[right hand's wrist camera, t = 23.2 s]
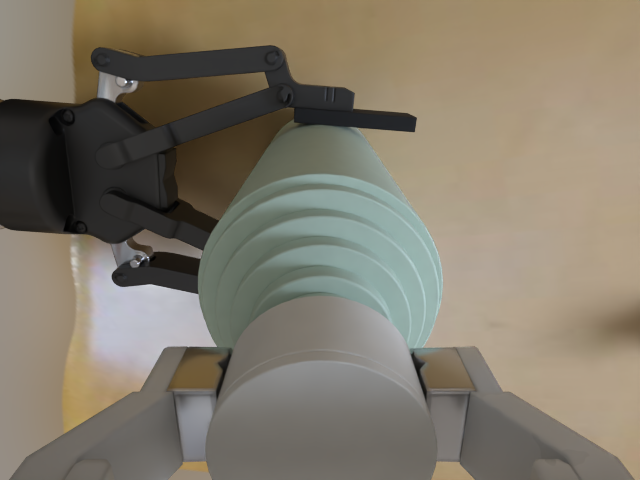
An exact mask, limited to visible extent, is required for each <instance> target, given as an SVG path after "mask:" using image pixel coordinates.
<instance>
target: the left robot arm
mask: <svg viewBox="0 0 640 480" xmlns="http://www.w3.org/2000/svg"><path fill="white" fill-rule="evenodd" d="M91 62H92V64H93V66H94V67H95V68H96V69H97V70H98V71H99V81H98V91H97V98H94V99H91V100H89V101H87V102H86V103H83V104H71V103H59V102H46V101H34V100H21V99H9V100H5V101H4V100H1V99H0V229H3V228H8V229H11V230H16V231H30V232H44V233H58V234H87V235H91V236H94V237H96V238H98V239H100V240H102V241H104V242H106V243H109V244H111V247H112V250H113V253H114V257H115V260H116V263H117V267H118V268H117V269H116V270H115V271H114V272H113V274H112V280H113V282H114V283H115V284H116V285H118V286H120V287H128V286H137V285H147V284H153V285H158V286H162V287H167V288H172V289H177V290H182V291H186V292H191V293H196V294H198V272H199V266H200V260H201V259H198V258H193V257H188V256H184V255H179V254H175V253H169V252H153V249H152V247H151V246H146V245H140V244H137V243H136V242H135V241H134V240H133V238H132V237H133V236H134V235H136V234H137V233H139V232H141V231H142V230H144V229H147V230H150V231H152V232H154V233H156V234H158V235H161V236H163V237H166V238H176V239H179V240H181V241H183V242H185V243H188V244H190V245H192V246H194V247H196V248H199V249H201V250H204V247H205V245H206V243H207V241H208V239H209V237H210V235H211V233H212V231H213V229H214V228H215V226H216V225H217V223H218V222H219V220H216V219H214V218H212V217H210V216H208V215H206V214H204V213H202V212H199V211H197V210H195V209H194V208H193V207H192V205H190V204H189V203H187V202H185V201H183V200H181V199H179V198H178V190H177V184H176V180H175V177H174V169H175V165H176V148H173V147H174V146H177V145H179V144H182V143H185V142H188V141H191V140H193V139H196V138H199V137H202V136H205V135H208V134H211V133H214V132H216V131H219V130H222V129H225V128H228V127H231V126H234V125H236V124H239V123H242V122H245V121H248V120H251V119H254V118H257V117H259V116H262V115H265V114H268V113H271V112H274V111H277V110H279V109H282V108H287V107H290V108H295V111H294V123H305V124H318V125H331V126H343V127H356V128H369V129H381V130H394V131H407V132H415V126H416V120H417V118H416V117H414V116H412V115H410V114H408V113H398V112H385V111H373V110H360V109H353V104H354V94H355V93H353V92H352V91H350V90H348V89H346V88H343V87H331V86H318V85H306V84H300V83H298V82H296V81H295V80H294V79H293V78H292V76H291V74H290V70H289V67H288V63H287V60H286V55H285V53H284V52H283V50H281V49H280V48H278V47H276V46H271V45H269V46H258V47H246V48H235V49H224V50H212V51H201V52H190V53H179V54H167V55H156V56H143V55H140V54H136V53H133V52H129V51H126V50H120V49H111V48H100V47H99V48H96V49H95V50H94V51H93V52H92V55H91ZM256 72H265V75H266V78H267V81H268V85H269V88H267V89H264V90H261V91H258V92H256V93H253V94H250V95H247V96H244V97H242V98H239V99H236V100H233V101H230V102H228V103H225V104H222V105H219V106H216V107H213V108H211V109H208V110H205V111H202V112H199V113H197V114H194V115H191V116H188V117H185V118H183V119H180V120H177V121H174V122H171V123H168V124H166V125H163V126H160V127H157V128H155V127H154V126H153V125H151V124H150V123H149V122H147V121H146V120H145V119H144V118H142V117H141V116H140V115H139V114H137V113H136V112H135V111H133V110H132V109H131V108H130V107H128V106H127V105H126V104H125V103H123V102H122V99H123V97H124V95H125V94H126V93H133V92H138V91H140V90H141V89H142V88H143V85H144V81H163V80H175V79H187V78H198V77H210V76H222V75H233V74H245V73H256Z"/></svg>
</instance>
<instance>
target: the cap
mask: <svg viewBox="0 0 640 480" xmlns="http://www.w3.org/2000/svg"><path fill="white" fill-rule="evenodd" d="M437 447H438V443H437V437H436V431H435V428H434V425H433V422H432V419H431V416H430V413H429V409H428V406H427V403H426V400H425V397H424V394H423V391H422V388H421V385H420V381H419V378H418V375H417V372H416V369H415V366H414V363H413V360H412V356H411V353H410V351H409V348H408V345H407V343H406V342H405V340H404V338H403V336H402V335H401V334H400V332H399V331H398V329H397V328H396V327H395V326H394V325H393V324H392V323H391V322H390V321H389V320H388V319H387V318H385V317H384V316H383V315H381V314H380V313H379V312H377V311H375V310H373V309H372V308H370V307H368V306H366V305H363V304H361V303H359V302H356V301H352V300H349V299H345V298H340V297H333V296H310V297H303V298H298V299H293V300H290V301H287V302H284V303H281V304H279V305H277V306H275V307H273V308H271V309H269V310H267V311H266V312H264V313H263V314H261V315H260V316H258V317H257V318H256V319H255V320H254V321H253V322H251V323H250V324H249V326H248V327H247V328H246V329H245V330H244V331H243V333H242V334H241V336H240V337H239V339H238V340H237V342H236V344H235V347H234V349H233V351H232V355H231V358H230V361H229V364H228V367H227V371H226V374H225V377H224V380H223V383H222V387H221V390H220V393H219V396H218V399H217V403H216V406H215V409H214V412H213V415H212V419H211V422H210V425H209V429H208V432H207V436H206V445H205V452H206V461H207V466H208V470H209V473H210V475H211V478H212V480H431V478H432V475H433V472H434V469H435V466H436V460H437Z"/></svg>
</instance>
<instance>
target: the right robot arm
mask: <svg viewBox="0 0 640 480" xmlns="http://www.w3.org/2000/svg"><path fill="white" fill-rule="evenodd" d="M232 351H233V350H232V348H226V347H167V348H165V349H164V350H163V351H162V353H161V355H160V357H159V358H158V360H157V362H156V364H155V366H154V367H153V369H152V371H151V373H150V374H149V376H148V378H147V380H146V381H145V383H144V385H143V387H142V389H141V390H140V392H132V393H130V394H129V395H127V396H125V397H124V398H122V399H121V400H119V401H117V402H116V403H114V404H112V405H111V406H109V407H108V408H106V409H104V410H103V411H101V412H99V413H98V414H96V415H94V416H93V417H91V418H90V419H88V420H86V421H85V422H83V423H81V424H80V425H78V426H77V427H75V428H73V429H72V430H70V431H68V432H67V433H65V434H63V435H62V436H60V437H59V438H57V439H55V440H54V441H52V442H50V443H49V444H47V445H45V446H44V447H42V448H41V449H39V450H37V451H36V452H34V453H32V454H31V455H29V456H28V457H26V458H25V460H24V461H23V462H22V464H21V465H20V466H19V468H18V469H17V470H16V472H15V473H14V474H13V475H12V477H11V478H10V479H9V480H168V479H169V478H170V477H171V476H172V475H173V474H174V473H175V472H176V471H177V470H178V469H179V467H180V466H181V465H182V464H183V463H182V462H196V461H206V452H205V445H206V436H207V432H208V429H209V425H210V422H211V419H212V415H213V412H214V409H215V406H216V403H217V399H218V396H219V393H220V390H221V387H222V383H223V380H224V377H225V374H226V371H227V367H228V364H229V361H230V358H231V355H232ZM410 353H411V356H412V360H413V363H414V366H415V369H416V372H417V375H418V378H419V381H420V385H421V388H422V391H423V394H424V397H425V400H426V403H427V406H428V409H429V413H430V416H431V419H432V422H433V425H434V428H435V431H436V437H437V443H438V447H437V460H436V461H446V462H460V464H461V465H462V467H463V468H464V469H465V470H466V471H467V472H468V473H469V474H470V475H471V476H472V477H473V478H474V479H475V480H634V478H633V477H632V476H631V474H630V473H629V472H628V470H627V469H626V468H625V467H624V465H623V464H622V463H621V461H620V460H619V459H618V458H617V457H616V456H614V455H612V454H611V453H609V452H607V451H606V450H604V449H602V448H601V447H599V446H598V445H596V444H594V443H593V442H591V441H589V440H588V439H586V438H584V437H583V436H581V435H580V434H578V433H576V432H575V431H573V430H571V429H570V428H568V427H566V426H565V425H563V424H562V423H560V422H558V421H557V420H555V419H553V418H552V417H550V416H548V415H547V414H545V413H544V412H542V411H540V410H539V409H537V408H535V407H534V406H532V405H530V404H529V403H527V402H526V401H524V400H522V399H521V398H519V397H517V396H516V395H514V394H512V393H511V392H503V391H502V389H501V387H500V386H499V384H498V382H497V380H496V379H495V377H494V375H493V373H492V372H491V370H490V368H489V367H488V365H487V363H486V361H485V360H484V358H483V356H482V355H481V353H480V351H479V349H478V348H476V347H475V346H470V347H451V348H410Z"/></svg>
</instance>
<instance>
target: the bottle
mask: <svg viewBox="0 0 640 480" xmlns="http://www.w3.org/2000/svg"><path fill="white" fill-rule="evenodd" d="M442 288H443V278H442V267H441V263H440V258H439V254H438V251H437V249H436V246H435V243H434V241H433V239H432V237H431V235H430V233H429V232H428V230H427V228H426V226H425V225H424V224H423V222H422V221H421V219H420V218H419V216H418V215H417V213H416V212H415V210H414V209H413V207H412V206H411V204H410V203H409V201H408V200H407V199H406V197H405V196H404V194H403V193H402V191H401V190H400V188H399V187H398V185H397V184H396V182H395V181H394V179H393V178H392V176H391V175H390V174H389V172H388V171H387V169H386V168H385V166H384V165H383V163H382V162H381V160H380V159H379V157H378V156H377V154H376V153H375V151H374V150H373V149H372V147H371V146H370V144H369V143H368V141H367V140H366V138H365V137H364V135H363V134H362V133H361V132H360V130H359V129H358V128H356V127H343V126H331V125H318V124H305V123H294V119H293V120H291V121H290V122H288V123H287V124H286V125H285V126H283V127H282V128H281V129H280V130H279V132H278V133H277V134H276V135H275V137H274V138H273V140H272V141H271V143H270V144H269V146H268V147H267V149H266V151H265V152H264V154H263V155H262V157H261V158H260V160H259V161H258V163H257V164H256V166H255V167H254V169H253V170H252V172H251V173H250V175H249V176H248V178H247V179H246V181H245V182H244V184H243V185H242V187H241V188H240V190H239V192H238V193H237V195H236V196H235V198H234V199H233V201H232V202H231V204H230V205H229V207H228V208H227V210H226V211H225V213H224V214H223V216H222V217H221V219H220V220H219V222H218V223H217V225H216V226H215V228H214V229H213V231H212V233H211V235H210V237H209V239H208V241H207V243H206V245H205V247H204V250H203V254H202V257H201V260H200V266H199V272H198V294H199V301H200V306H201V309H202V313H203V316H204V319H205V321H206V324H207V327H208V330H209V332H210V334H211V336H212V339H213V341H214V342H215V344H216V345H217V347H226V348H232V350H233V349H234V347H235V344H236V342H237V340H238V339H239V337H240V336H241V334H242V333H243V331H244V330H245V329H246V328H247V327H248V326H249V324H250V323H251V322H253V321H254V320H255V319H256V318H257V317H258V316H260V315H261V314H263V313H264V312H266V311H267V310H269V309H271V308H273V307H275V306H277V305H279V304H281V303H284V302H287V301H290V300H293V299H298V298H303V297H310V296H333V297H340V298H345V299H349V300H352V301H356V302H359V303H361V304H363V305H366V306H368V307H370V308H372V309H373V310H375V311H377V312H379V313H380V314H381V315H383V316H384V317H385V318H387V319H388V320H389V321H390V322H391V323H392V324H393V325H394V326H395V327H396V328H397V329H398V331H399V332H400V334H401V335H402V336H403V338H404V340H405V342H406V343H407V345H408V348H409V351H410V348H423V347H424V345H425V343H426V341H427V339H428V338H429V336H430V334H431V331H432V328H433V326H434V323H435V320H436V317H437V314H438V312H439V307H440V303H441V299H442Z"/></svg>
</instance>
